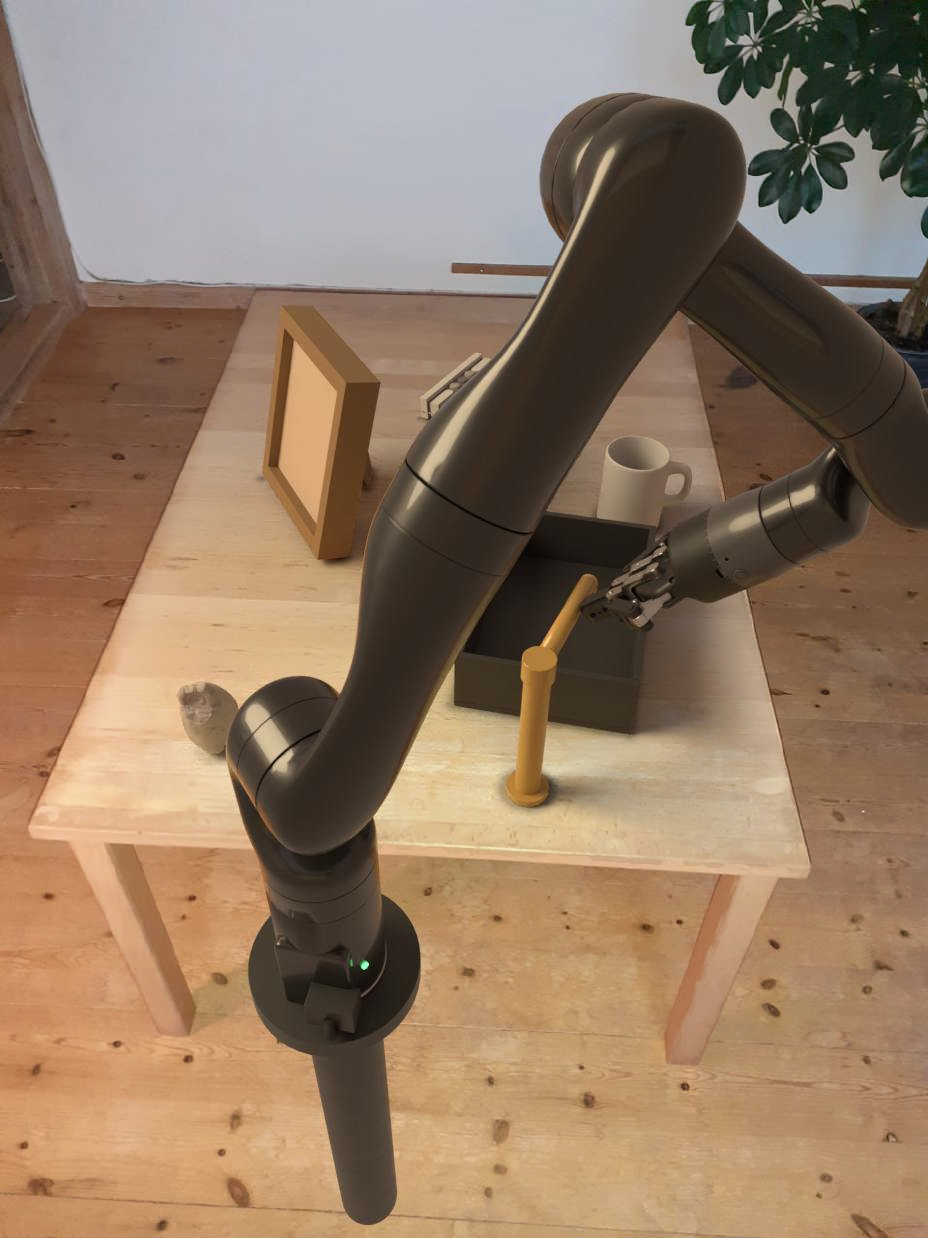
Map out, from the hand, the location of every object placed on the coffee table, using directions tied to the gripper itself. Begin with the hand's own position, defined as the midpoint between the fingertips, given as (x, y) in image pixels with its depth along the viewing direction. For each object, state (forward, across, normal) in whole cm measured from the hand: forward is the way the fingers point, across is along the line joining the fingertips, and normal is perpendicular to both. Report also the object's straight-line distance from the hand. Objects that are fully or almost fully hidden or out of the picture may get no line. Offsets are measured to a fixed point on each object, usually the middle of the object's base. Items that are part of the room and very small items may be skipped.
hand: (587, 611), depth 94 cm
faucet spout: (+3, +3, +1) cm, 5 cm away
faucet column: (+14, +9, +11) cm, 20 cm away
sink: (+18, -14, +8) cm, 24 cm away
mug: (+16, -40, +10) cm, 44 cm away
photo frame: (+43, -25, -18) cm, 53 cm away
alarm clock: (+37, -58, -11) cm, 70 cm away
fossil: (+36, +18, -12) cm, 42 cm away
